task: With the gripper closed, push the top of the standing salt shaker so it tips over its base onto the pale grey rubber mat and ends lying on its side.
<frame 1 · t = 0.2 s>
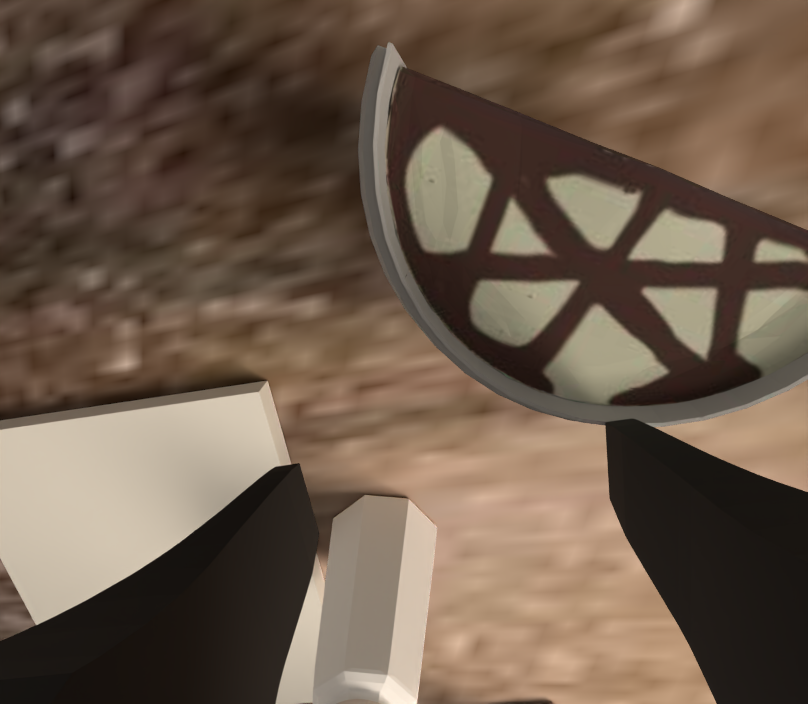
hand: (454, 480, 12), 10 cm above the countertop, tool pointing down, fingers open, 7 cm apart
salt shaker: (384, 535, 25), on the countertop
food container: (515, 243, 20), on the countertop
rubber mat: (172, 562, 26), on the countertop
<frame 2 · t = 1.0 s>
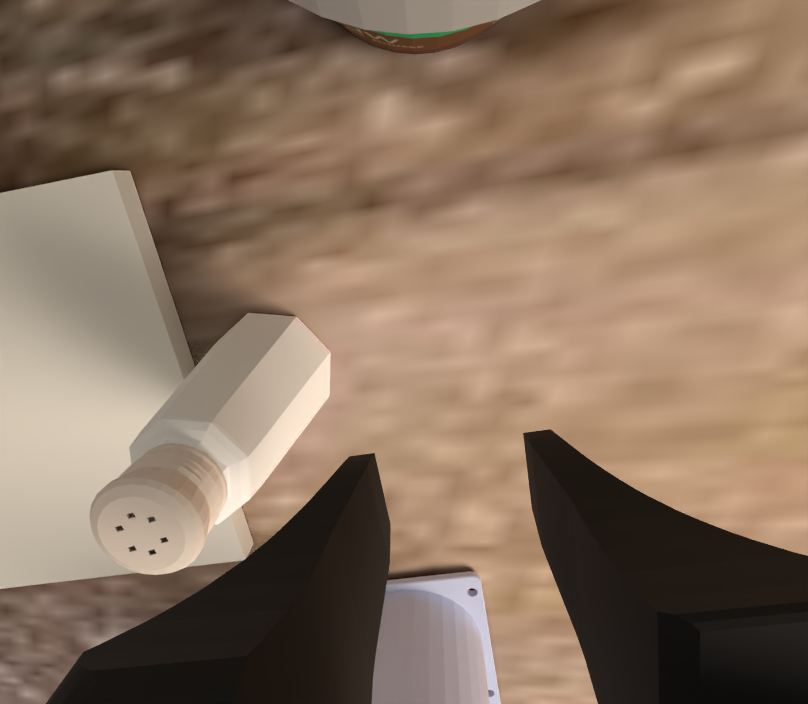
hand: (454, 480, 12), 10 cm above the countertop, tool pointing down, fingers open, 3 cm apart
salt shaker: (275, 366, 23), on the countertop
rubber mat: (47, 403, 23), on the countertop
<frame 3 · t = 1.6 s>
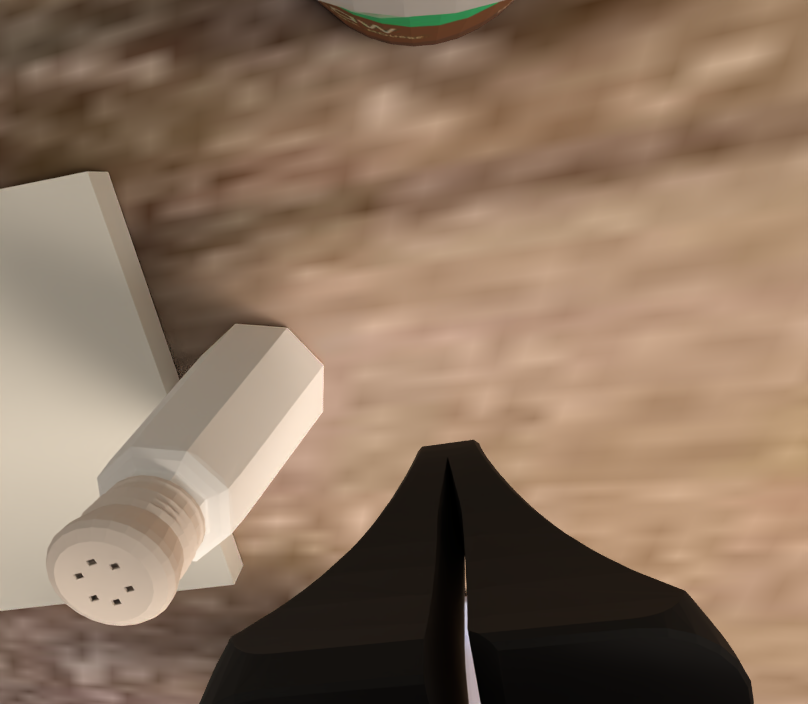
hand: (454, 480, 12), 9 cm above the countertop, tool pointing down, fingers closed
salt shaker: (265, 380, 21), on the countertop
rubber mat: (23, 419, 22), on the countertop
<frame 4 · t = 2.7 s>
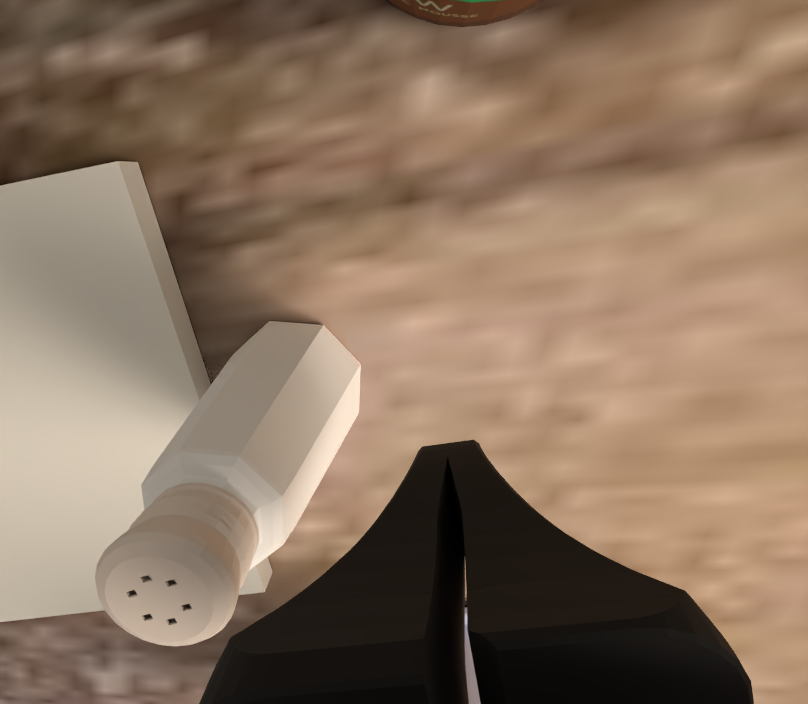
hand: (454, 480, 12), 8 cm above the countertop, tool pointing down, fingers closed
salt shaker: (298, 380, 20), on the countertop
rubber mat: (45, 421, 21), on the countertop
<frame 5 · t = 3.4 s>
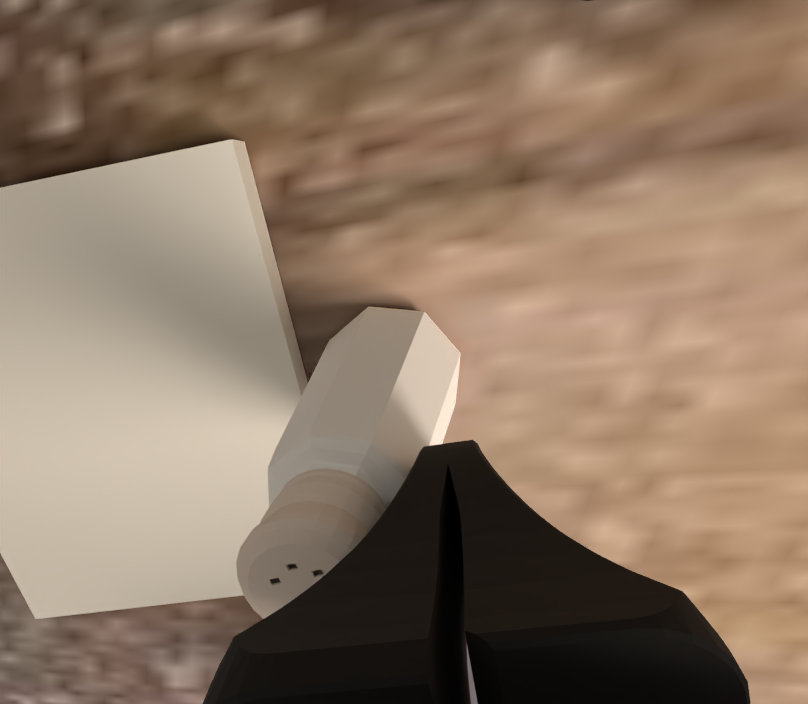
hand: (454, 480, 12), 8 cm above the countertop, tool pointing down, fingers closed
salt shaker: (394, 368, 20), on the countertop, touching gripper
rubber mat: (132, 409, 21), on the countertop
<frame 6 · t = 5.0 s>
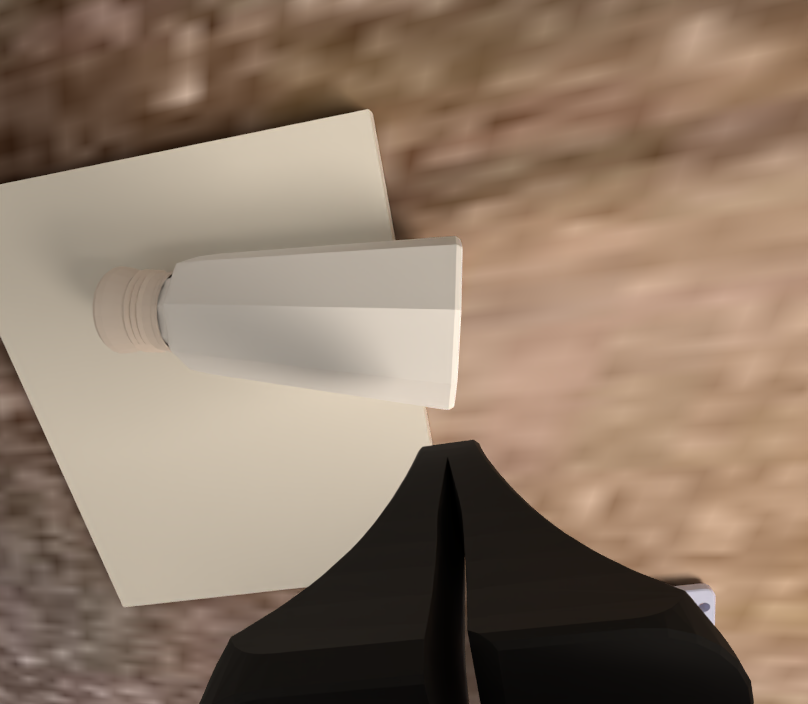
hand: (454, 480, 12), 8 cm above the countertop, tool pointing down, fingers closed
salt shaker: (463, 322, 16), point 3 cm above the countertop, touching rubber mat
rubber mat: (234, 391, 20), on the countertop
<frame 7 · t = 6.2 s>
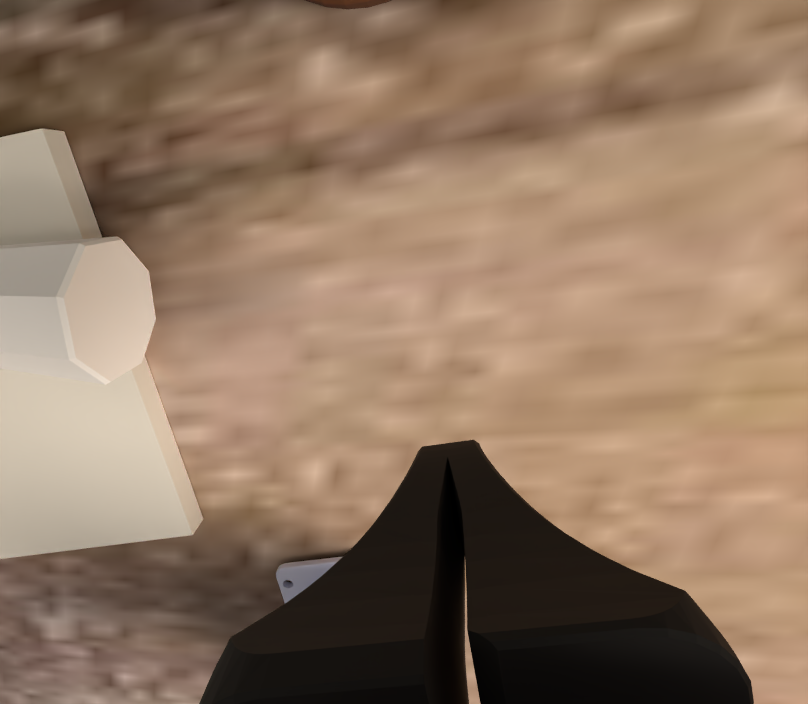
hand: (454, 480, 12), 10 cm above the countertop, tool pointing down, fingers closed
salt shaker: (121, 310, 18), point 3 cm above the countertop, touching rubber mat
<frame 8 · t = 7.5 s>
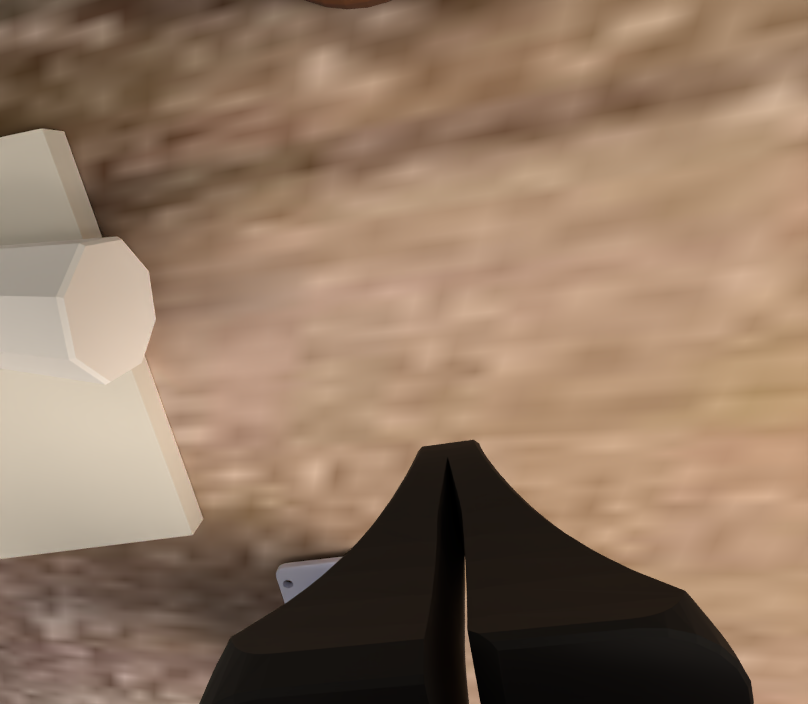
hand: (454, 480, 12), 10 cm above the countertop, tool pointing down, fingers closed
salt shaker: (121, 310, 18), point 3 cm above the countertop, touching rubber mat
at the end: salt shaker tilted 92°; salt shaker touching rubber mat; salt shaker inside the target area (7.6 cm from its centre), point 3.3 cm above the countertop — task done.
